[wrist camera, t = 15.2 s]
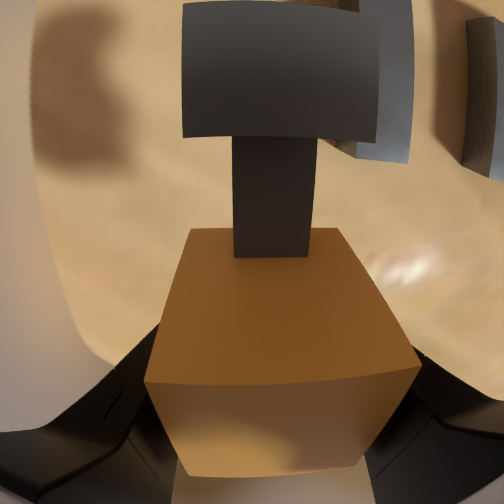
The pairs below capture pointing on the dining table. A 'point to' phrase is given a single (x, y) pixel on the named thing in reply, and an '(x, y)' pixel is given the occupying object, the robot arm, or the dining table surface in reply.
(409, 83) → the grey rectangular blocks
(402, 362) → the plug
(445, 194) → the dining table surface
